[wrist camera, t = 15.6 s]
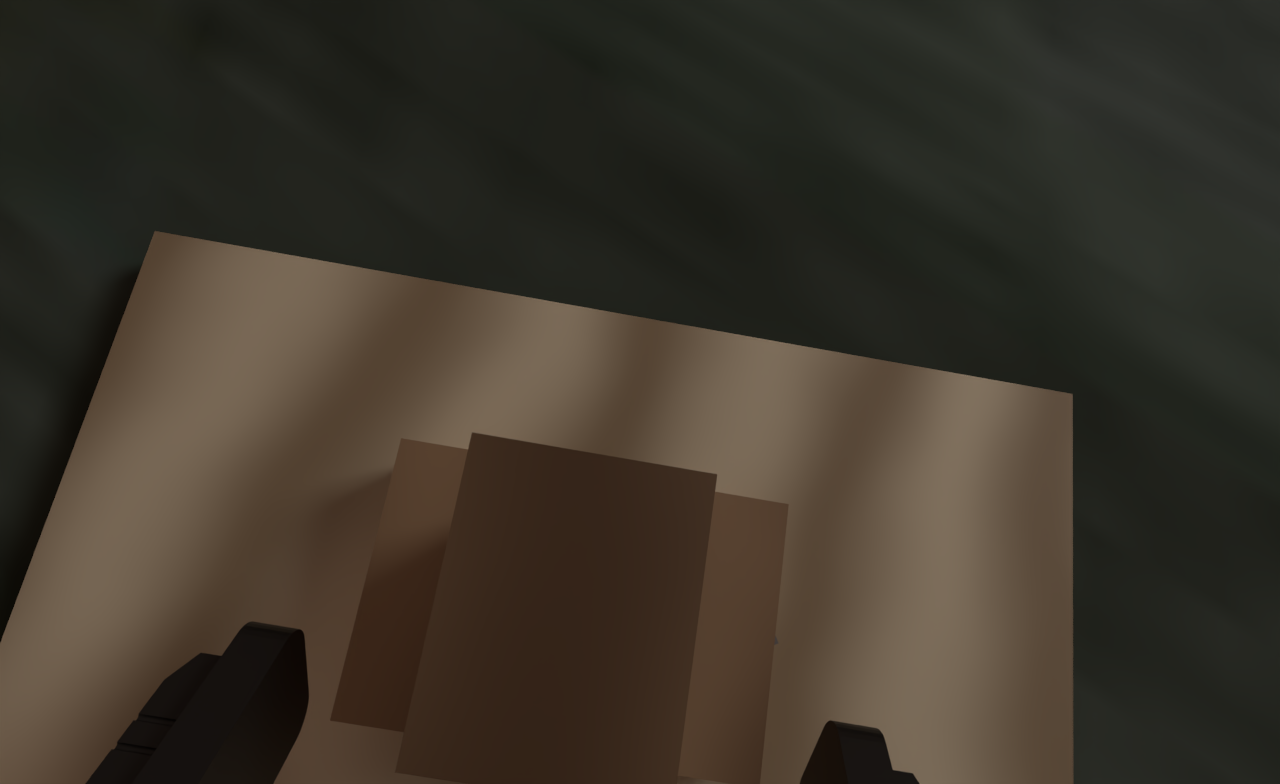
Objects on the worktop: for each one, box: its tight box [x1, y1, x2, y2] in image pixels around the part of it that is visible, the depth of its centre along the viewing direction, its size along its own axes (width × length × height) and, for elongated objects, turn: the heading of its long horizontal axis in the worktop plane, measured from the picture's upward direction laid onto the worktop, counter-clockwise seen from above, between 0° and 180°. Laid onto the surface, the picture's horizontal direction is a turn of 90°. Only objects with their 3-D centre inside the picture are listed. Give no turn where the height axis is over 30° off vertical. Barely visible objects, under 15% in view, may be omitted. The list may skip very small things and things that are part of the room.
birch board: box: [0, 231, 1073, 784], centre depth 19 cm, size 26×16×2 cm, turn 81°
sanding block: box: [330, 432, 789, 784], centre depth 14 cm, size 9×6×10 cm, turn 81°
